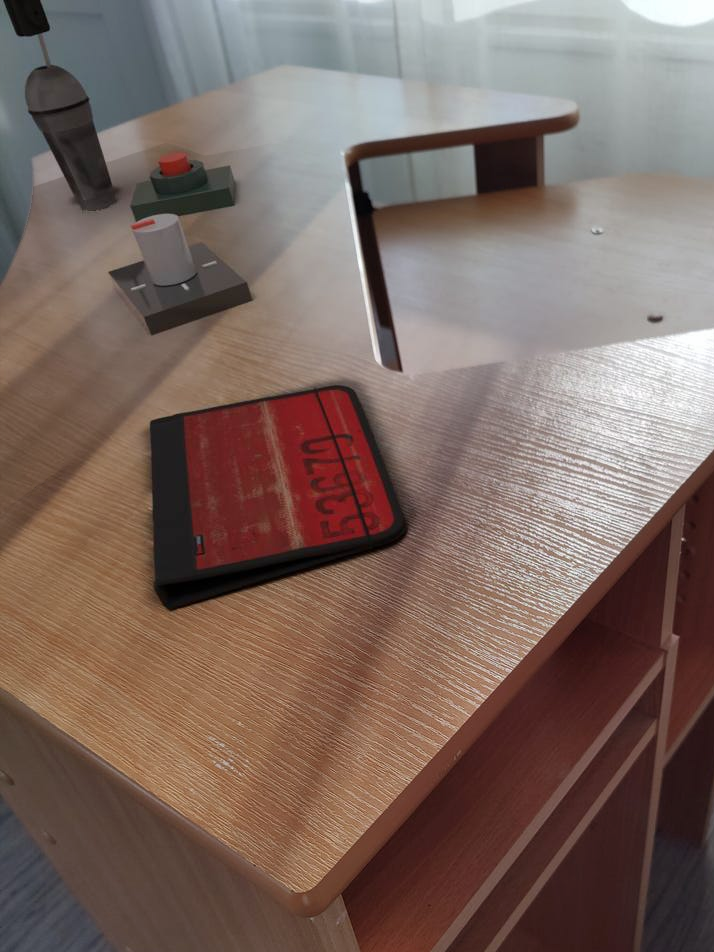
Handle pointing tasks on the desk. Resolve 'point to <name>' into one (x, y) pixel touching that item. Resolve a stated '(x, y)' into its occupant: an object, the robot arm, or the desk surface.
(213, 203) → the button box
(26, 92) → the beverage cup
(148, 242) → the hob knob
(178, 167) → the button
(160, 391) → the desk surface
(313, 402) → the binder
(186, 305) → the panel
